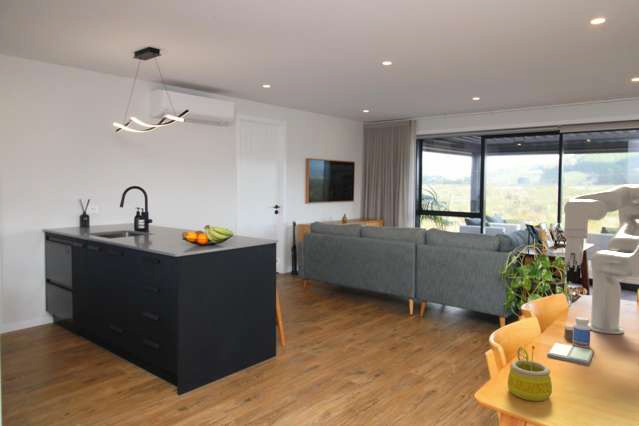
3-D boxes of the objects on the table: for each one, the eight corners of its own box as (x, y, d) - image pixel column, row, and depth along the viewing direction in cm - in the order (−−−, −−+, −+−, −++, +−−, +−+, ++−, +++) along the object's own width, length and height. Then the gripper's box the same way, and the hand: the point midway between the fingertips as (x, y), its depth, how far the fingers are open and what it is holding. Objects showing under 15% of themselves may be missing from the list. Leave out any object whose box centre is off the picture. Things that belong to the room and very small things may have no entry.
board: (554, 345, 164) (554, 342, 164) (593, 352, 157) (593, 349, 157) (547, 356, 153) (547, 353, 153) (588, 365, 146) (588, 361, 146)
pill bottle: (592, 348, 161) (593, 321, 161) (575, 347, 162) (576, 320, 162) (586, 343, 167) (587, 317, 166) (570, 342, 168) (571, 315, 167)
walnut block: (564, 336, 174) (564, 326, 174) (576, 338, 173) (576, 327, 172) (565, 339, 170) (566, 329, 170) (577, 341, 169) (578, 330, 169)
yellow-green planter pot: (549, 408, 117) (551, 362, 116) (504, 397, 123) (505, 353, 122) (554, 389, 128) (556, 347, 127) (512, 380, 134) (513, 340, 133)
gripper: (568, 231, 178) (566, 275, 179) (560, 234, 164) (558, 282, 166) (590, 232, 174) (588, 277, 175) (584, 236, 160) (582, 285, 161)
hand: (573, 279), depth 170 cm, fingers open, 9 cm apart
